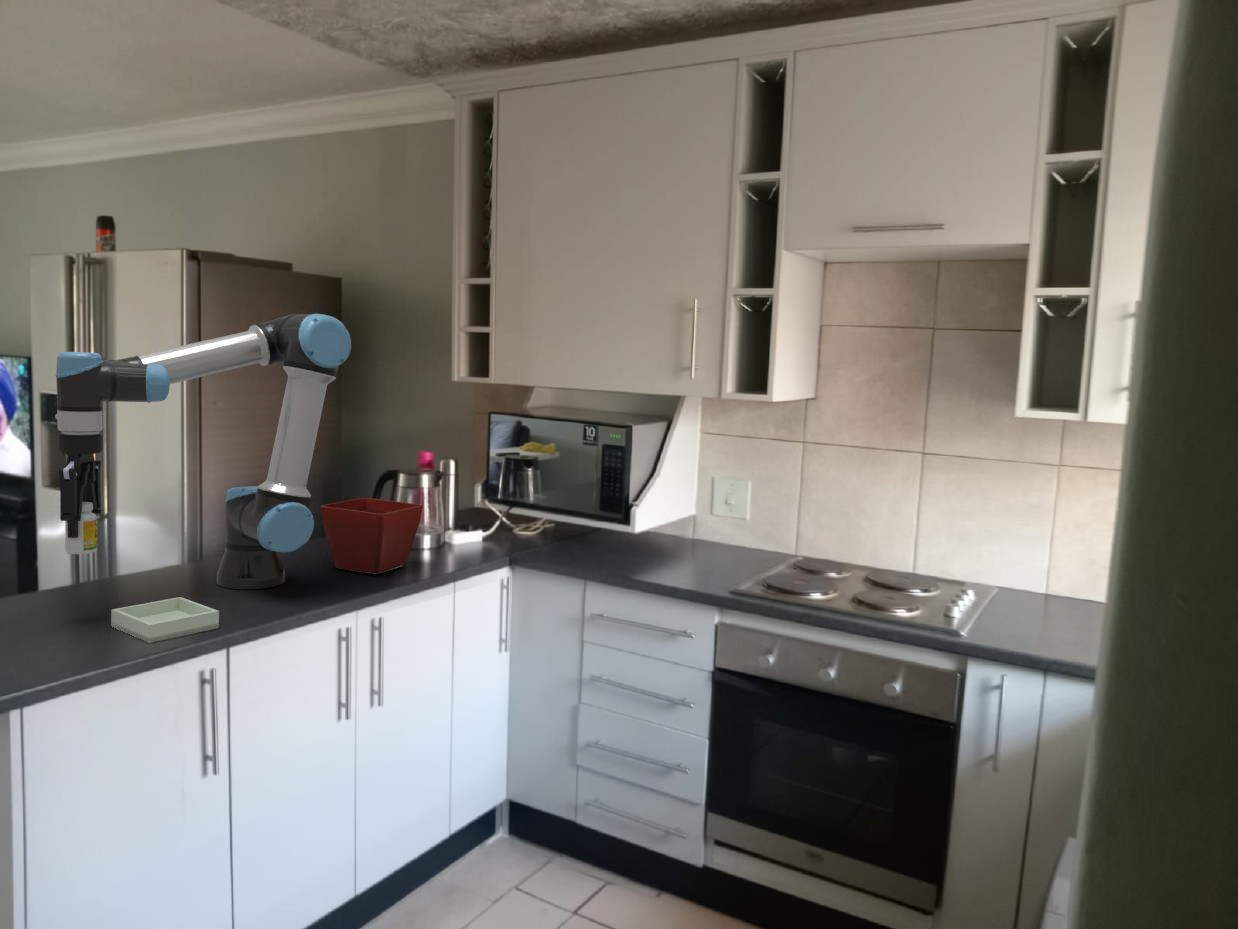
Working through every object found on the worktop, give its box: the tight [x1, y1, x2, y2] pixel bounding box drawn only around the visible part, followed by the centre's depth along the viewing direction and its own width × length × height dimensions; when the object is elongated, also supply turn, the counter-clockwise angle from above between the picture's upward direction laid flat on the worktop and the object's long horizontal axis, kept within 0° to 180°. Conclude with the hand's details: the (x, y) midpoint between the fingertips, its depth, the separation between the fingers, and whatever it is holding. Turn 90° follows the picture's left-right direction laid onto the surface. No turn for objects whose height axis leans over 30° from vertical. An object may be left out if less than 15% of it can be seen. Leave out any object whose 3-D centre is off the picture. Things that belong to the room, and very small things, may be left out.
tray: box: [110, 596, 220, 644], centre depth 181 cm, size 14×14×4 cm
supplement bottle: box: [64, 502, 98, 555], centre depth 179 cm, size 5×5×10 cm
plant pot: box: [319, 497, 423, 573], centre depth 238 cm, size 19×19×17 cm
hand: (81, 549), depth 180 cm, fingers closed on supplement bottle, 5 cm apart
